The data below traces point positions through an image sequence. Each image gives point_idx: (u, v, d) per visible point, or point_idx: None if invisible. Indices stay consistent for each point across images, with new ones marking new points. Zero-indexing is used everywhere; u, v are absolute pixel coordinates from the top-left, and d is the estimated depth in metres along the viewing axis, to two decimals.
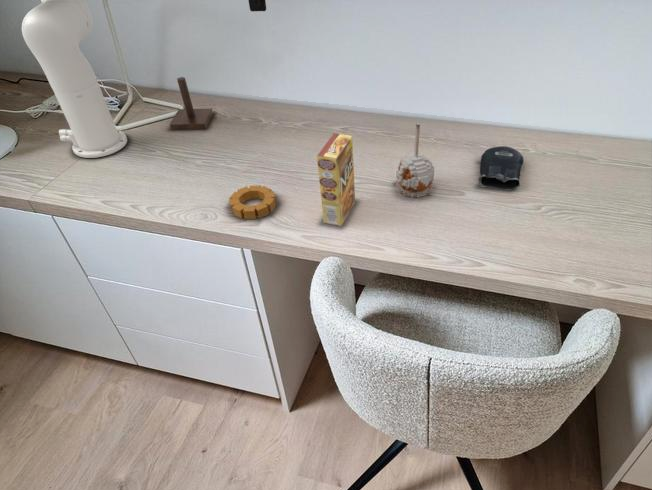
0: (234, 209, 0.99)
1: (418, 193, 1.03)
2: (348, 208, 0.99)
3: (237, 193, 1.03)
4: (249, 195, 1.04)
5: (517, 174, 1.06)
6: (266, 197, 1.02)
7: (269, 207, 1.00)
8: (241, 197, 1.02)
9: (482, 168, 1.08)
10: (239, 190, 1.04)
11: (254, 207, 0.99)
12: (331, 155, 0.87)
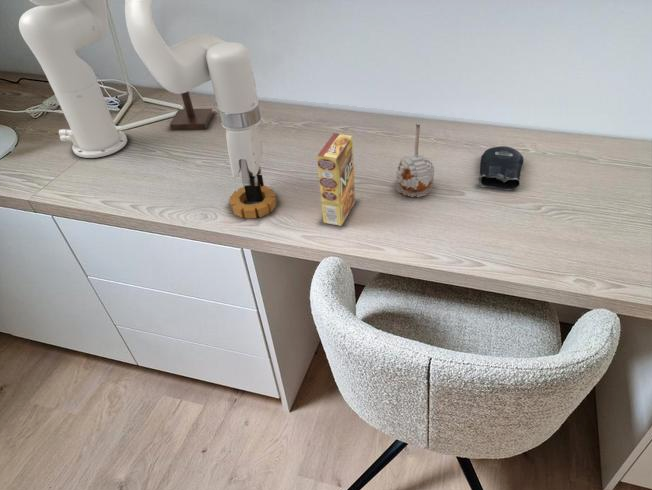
0: (234, 208, 0.99)
1: (418, 193, 1.03)
2: (348, 208, 0.99)
3: (237, 192, 1.03)
4: None
5: (517, 174, 1.06)
6: (266, 196, 1.02)
7: (269, 206, 1.00)
8: (241, 196, 1.03)
9: (482, 168, 1.08)
10: (239, 189, 1.04)
11: (254, 206, 0.99)
12: (331, 155, 0.87)
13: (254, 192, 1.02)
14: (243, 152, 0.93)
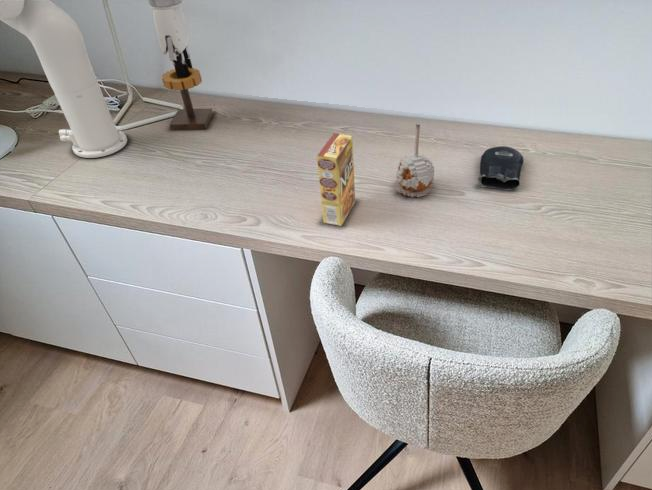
0: (165, 81, 1.21)
1: (418, 193, 1.03)
2: (348, 208, 0.99)
3: (169, 71, 1.24)
4: None
5: (517, 174, 1.06)
6: (192, 74, 1.23)
7: (194, 81, 1.22)
8: (172, 75, 1.24)
9: (482, 168, 1.08)
10: (171, 70, 1.25)
11: (181, 80, 1.20)
12: (331, 155, 0.87)
13: (182, 71, 1.23)
14: (167, 29, 1.14)
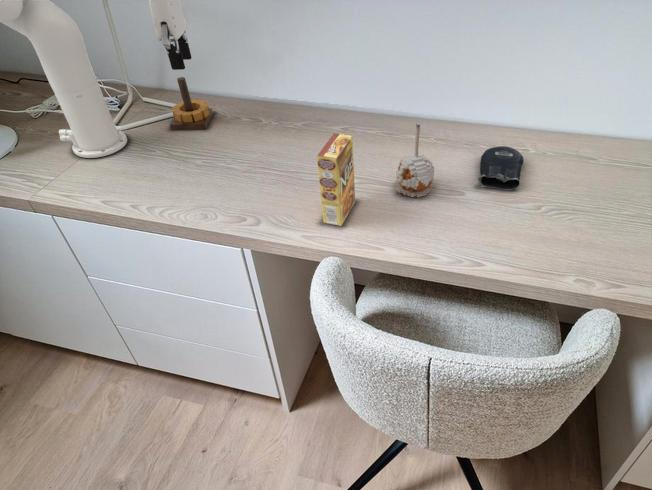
0: (175, 114, 1.27)
1: (418, 193, 1.03)
2: (348, 208, 0.99)
3: (178, 104, 1.31)
4: None
5: (517, 174, 1.06)
6: (201, 106, 1.30)
7: (203, 113, 1.28)
8: (182, 107, 1.30)
9: (482, 168, 1.08)
10: (180, 103, 1.31)
11: (191, 112, 1.27)
12: (331, 155, 0.87)
13: (176, 59, 1.19)
14: (163, 14, 1.12)
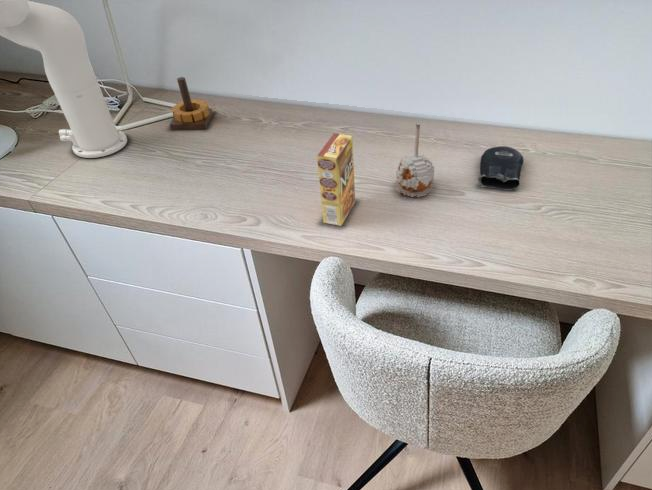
0: (175, 114, 1.27)
1: (418, 193, 1.03)
2: (348, 208, 0.99)
3: (178, 104, 1.31)
4: None
5: (517, 174, 1.06)
6: (201, 106, 1.30)
7: (203, 113, 1.28)
8: (182, 107, 1.30)
9: (482, 168, 1.08)
10: (180, 103, 1.31)
11: (191, 112, 1.27)
12: (331, 155, 0.87)
13: None
14: None
